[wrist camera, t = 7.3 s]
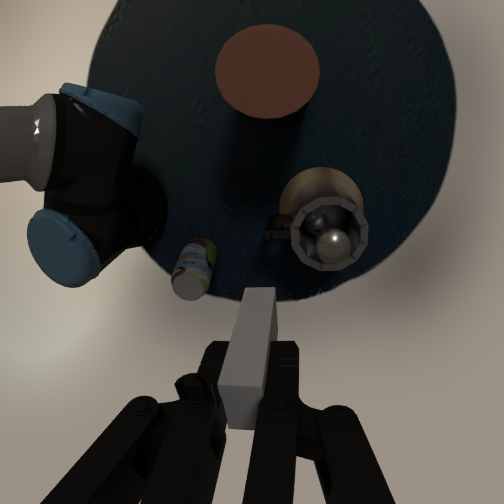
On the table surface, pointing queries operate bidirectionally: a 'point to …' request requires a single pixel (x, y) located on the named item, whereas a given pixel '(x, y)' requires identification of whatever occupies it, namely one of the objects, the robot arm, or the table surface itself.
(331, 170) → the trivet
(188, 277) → the beverage can
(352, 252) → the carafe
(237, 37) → the coffee jar
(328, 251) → the plunger
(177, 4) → the table surface
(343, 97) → the table surface
